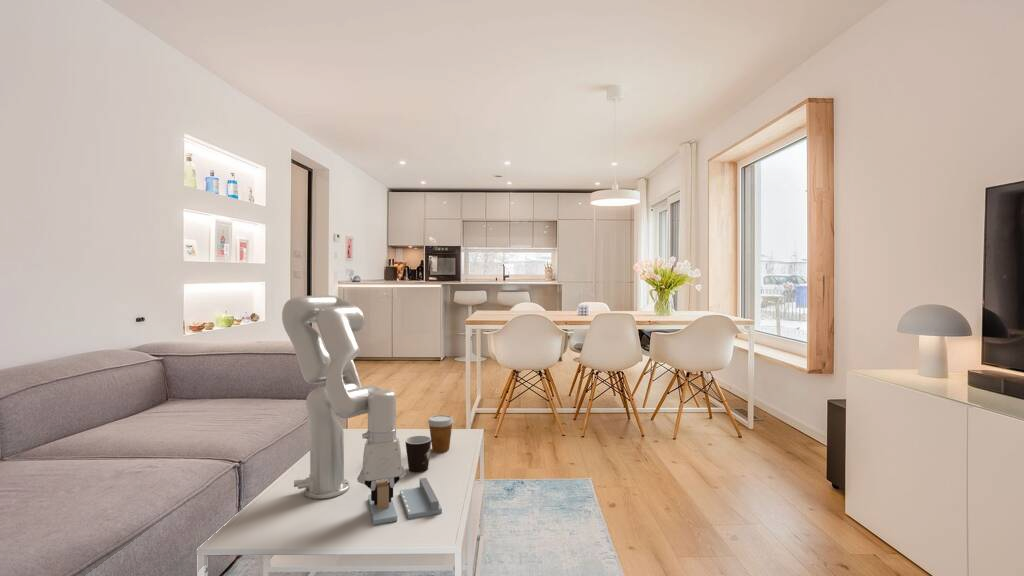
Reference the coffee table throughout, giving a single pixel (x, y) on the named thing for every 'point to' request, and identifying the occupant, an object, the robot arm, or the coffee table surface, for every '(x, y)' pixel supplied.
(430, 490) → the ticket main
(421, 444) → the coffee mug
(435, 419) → the disposable coffee cup
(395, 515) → the grey slab
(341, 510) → the coffee table surface
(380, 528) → the coffee table surface
